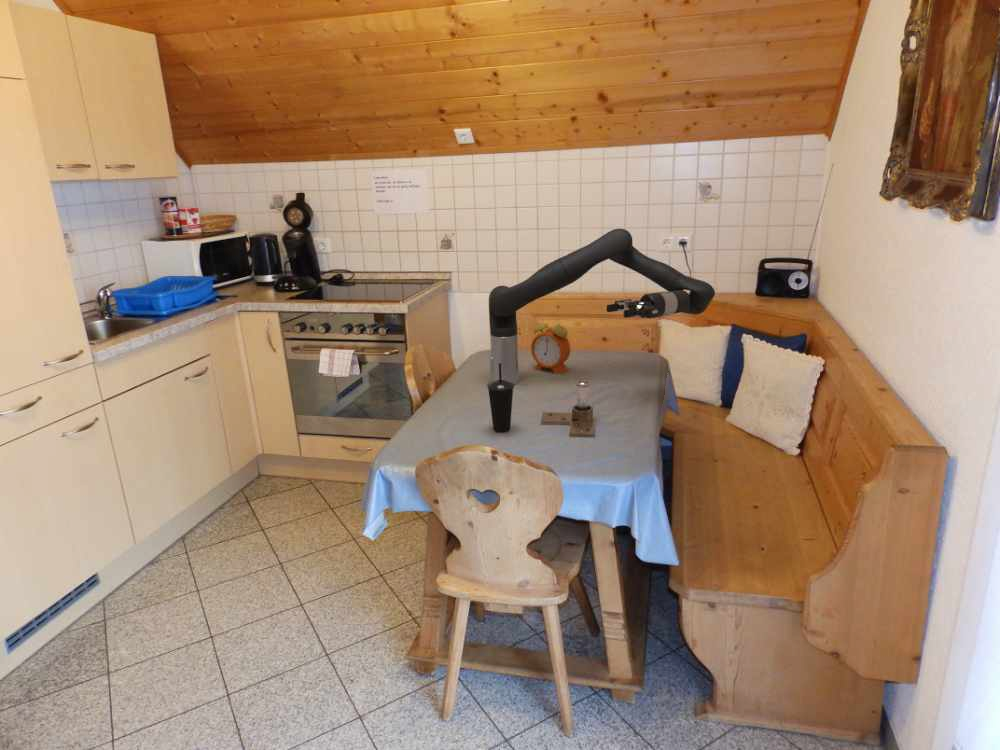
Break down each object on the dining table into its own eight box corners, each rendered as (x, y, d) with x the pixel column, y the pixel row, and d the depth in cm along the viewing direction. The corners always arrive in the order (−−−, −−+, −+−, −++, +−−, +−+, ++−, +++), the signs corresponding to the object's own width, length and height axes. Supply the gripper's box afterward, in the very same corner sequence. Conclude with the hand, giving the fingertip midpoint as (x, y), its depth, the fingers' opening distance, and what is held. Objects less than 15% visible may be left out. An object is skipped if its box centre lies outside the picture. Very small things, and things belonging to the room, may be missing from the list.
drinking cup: (506, 436, 190) (504, 369, 183) (483, 431, 194) (480, 365, 187) (520, 427, 196) (518, 361, 190) (497, 422, 200) (495, 358, 194)
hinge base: (539, 435, 190) (538, 422, 188) (542, 415, 204) (542, 403, 203) (594, 437, 188) (594, 423, 186) (594, 416, 202) (594, 403, 201)
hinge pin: (576, 422, 198) (576, 384, 194) (576, 417, 202) (576, 379, 198) (589, 423, 197) (589, 384, 194) (589, 418, 201) (589, 380, 197)
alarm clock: (530, 369, 247) (529, 316, 241) (539, 365, 252) (538, 312, 246) (562, 375, 240) (562, 320, 234) (570, 370, 245) (570, 316, 239)
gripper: (644, 288, 213) (601, 294, 206) (674, 296, 201) (630, 303, 194) (643, 312, 215) (601, 318, 208) (673, 321, 203) (629, 328, 196)
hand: (615, 311), depth 201 cm, fingers open, 8 cm apart
